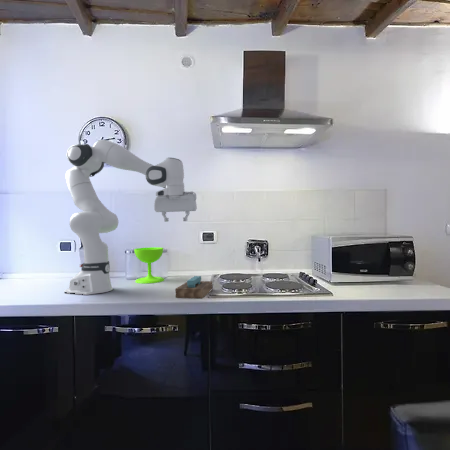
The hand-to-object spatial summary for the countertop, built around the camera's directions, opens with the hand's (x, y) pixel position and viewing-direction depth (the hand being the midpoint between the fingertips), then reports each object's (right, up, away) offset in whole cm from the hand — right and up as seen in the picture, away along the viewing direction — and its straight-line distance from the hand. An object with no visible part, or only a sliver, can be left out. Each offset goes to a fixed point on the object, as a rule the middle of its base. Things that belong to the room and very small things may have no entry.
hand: (175, 221), depth 168 cm
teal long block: (+9, -33, -6) cm, 35 cm away
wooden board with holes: (+10, -33, -6) cm, 35 cm away
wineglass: (-19, -33, +30) cm, 48 cm away
